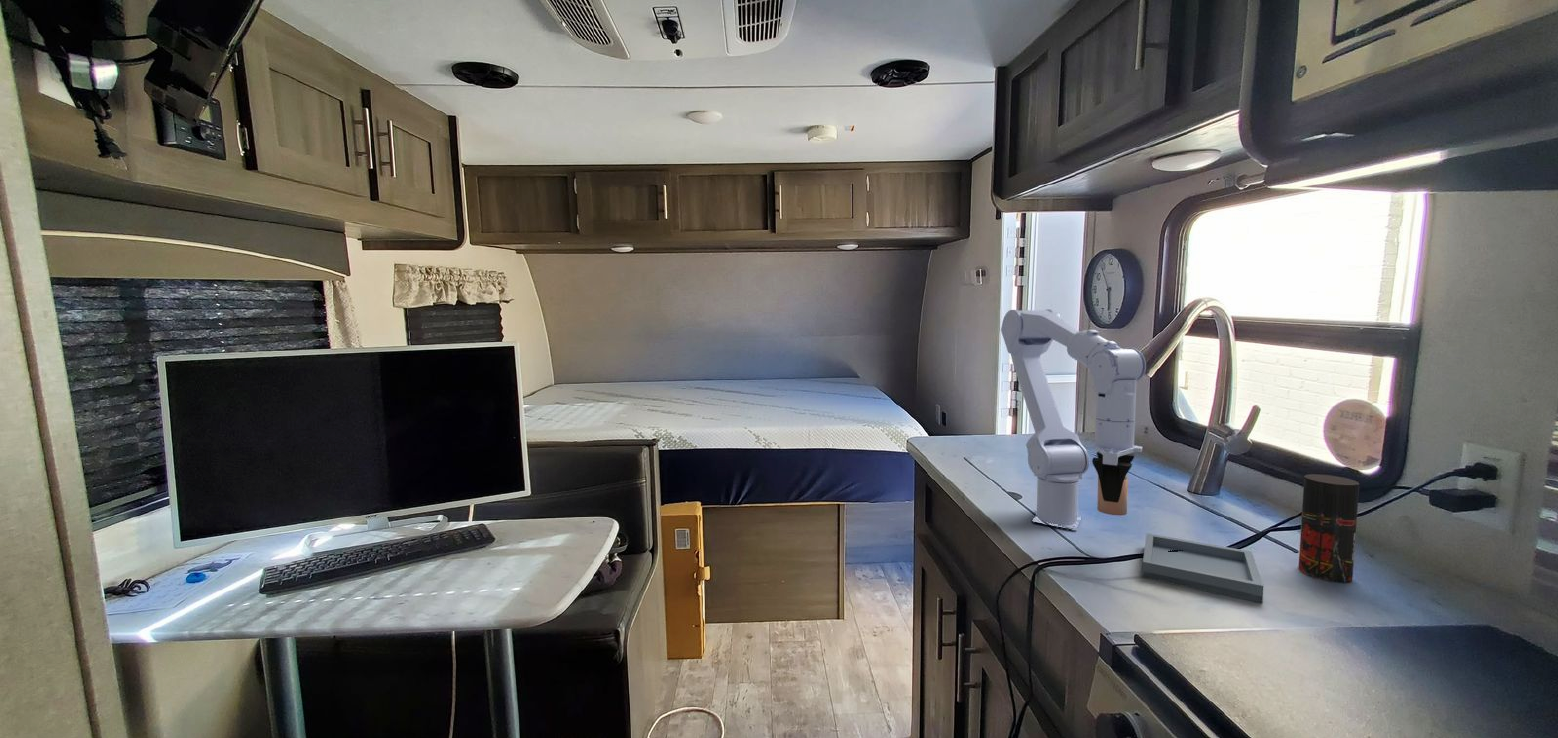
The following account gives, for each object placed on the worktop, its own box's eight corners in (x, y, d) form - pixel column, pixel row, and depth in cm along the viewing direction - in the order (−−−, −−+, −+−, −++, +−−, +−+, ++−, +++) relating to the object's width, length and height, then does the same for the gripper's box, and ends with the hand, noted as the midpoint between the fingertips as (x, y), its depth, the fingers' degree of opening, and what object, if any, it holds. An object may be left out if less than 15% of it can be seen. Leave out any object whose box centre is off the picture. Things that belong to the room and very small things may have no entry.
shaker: (1098, 505, 97) (1099, 463, 97) (1127, 509, 95) (1129, 467, 94) (1095, 512, 94) (1097, 469, 93) (1125, 517, 91) (1127, 473, 90)
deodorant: (1293, 562, 89) (1299, 472, 88) (1344, 570, 86) (1350, 477, 85) (1304, 577, 84) (1311, 481, 83) (1359, 586, 81) (1366, 487, 79)
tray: (1146, 546, 96) (1146, 533, 96) (1250, 566, 88) (1251, 551, 87) (1142, 577, 84) (1143, 561, 84) (1262, 603, 76) (1263, 585, 76)
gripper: (1141, 428, 85) (1137, 513, 86) (1145, 415, 96) (1142, 490, 97) (1089, 424, 89) (1086, 505, 90) (1099, 412, 100) (1096, 484, 101)
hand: (1112, 497), depth 94 cm, fingers closed on shaker, 4 cm apart
